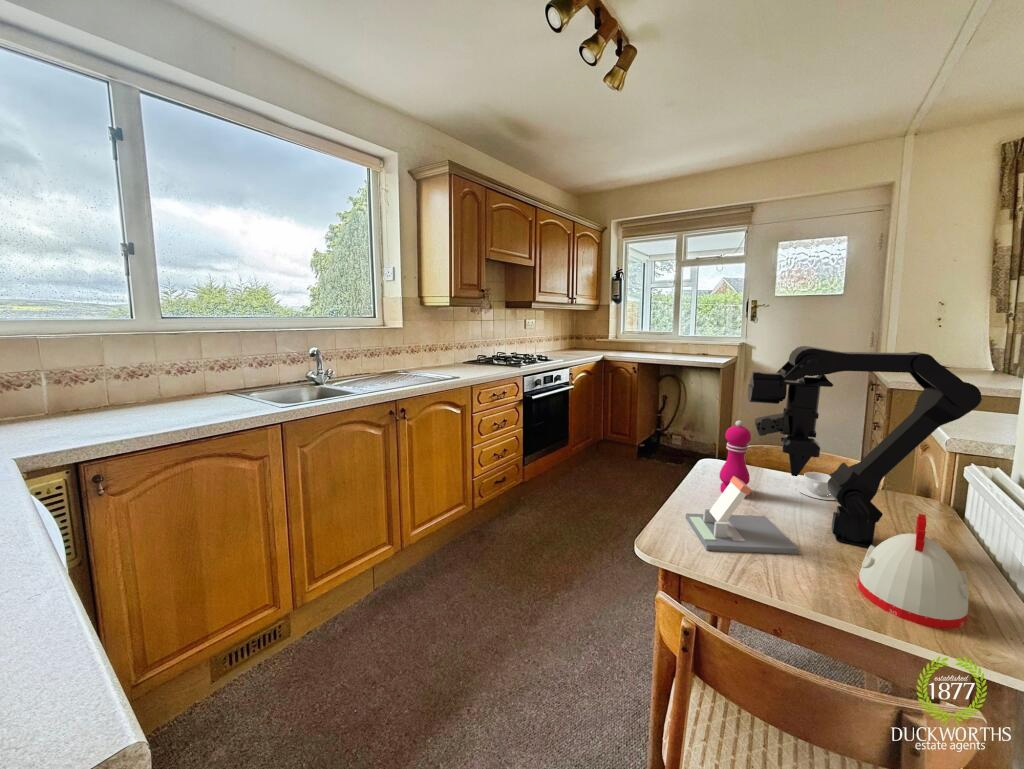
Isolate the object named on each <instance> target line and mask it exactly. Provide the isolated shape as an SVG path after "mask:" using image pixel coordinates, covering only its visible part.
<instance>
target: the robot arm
mask: <svg viewBox="0 0 1024 769" xmlns="http://www.w3.org/2000/svg"><path fill="white" fill-rule="evenodd" d="M841 372H863V373H864V372H865V373H866V372H867V373H869V372H871V373H872V372H873V373H876V372H877V373H909V374H910V376H911V377H912V378H913V380H914V381H915V382H916V383H917V384H918V385H919V386H920V387H921V388H922V389H923V390H922V391H921V393H920V395H918V397H917V401H916V403H915V405H914V409H913V411H911V413H910V414H909V415H908V416H906V418H905V419H904V420H902V422H901V423H899V425H897V426H896V427H895V428H894V429H893V430H892V431H891V432H889V434H887V436H886V437H885V438H883V440H882V441H880V442H879V443H878V444H877V445H876V446H875V447H874V448H873V449H872V450H871V451H870V452H869V453H867V455H866V456H865V457H864V458H863V459H862V460H860V461H859V462H858V463H854V464H852V465H850V466H848V464H846V463H845V462H842V463H841V464H840V465H838V467H837V469H836V470H835V471H834V472H831V473H830V474H828V475H829V476H830V477H831V478H830V479H829V480H828V483H827V484H828V490H829V491H830V493H831V494H832V495H833V497H834V498H835V499H836V500H835V501H836V503H838V504H839V505H837V507H836V511H834V512H833V514H832V520H831V528H830V529H831V532H832V534H833V535H834V539H835V540H836V541H837V542H840V543H843V544H850V545H854V546H858V547H859V546H860V547H864V548H868V549H869V547H870V546H871V545H872V546H874V547H875V548H876V546H875V543H874V536H875V529H876V523H878V522H879V521H880V520H881V518H882V517H883V514H884V513H883V512H882V511H881V510H880V509H878V507H877V506H876V505H875V504H874V503H873V502H872V500H874V498H875V497H876V495H877V494H878V490H879V489H880V488H879V487H880V485H881V484H882V480H883V479H884V478H885V477H886V476H887V475H888V474H889V473H891V471H892V470H893V469H894V468H896V467H897V466H898V465H899V464H900V463H901V462H903V460H904V459H906V458H907V457H908V456H909V455H910V454H911V453H912V452H913V451H914V450H915V449H917V447H919V446H920V445H921V444H922V443H923V442H924V441H925V440H926V439H927V438H928V437H930V436H931V435H932V434H933V433H934V432H935V431H936V430H937V429H938V428H939V427H941V426H944V425H947V424H949V423H952V422H955V421H957V420H959V419H961V418H963V417H964V416H966V415H967V414H969V413H970V412H973V410H975V409H976V408H977V407H979V406H980V404H981V403H982V400H983V398H982V392H981V391H980V388H978V386H976V385H975V384H973V383H970V382H967V381H963V380H962V379H961V378H960V377H959V376H958V375H956V374H954V373H953V372H951V371H950V370H949V369H948V368H946V367H945V366H943V365H942V364H940V363H939V361H937V359H935V358H934V357H933V356H932V355H930V354H929V353H923V352H917V351H910V352H872V351H871V352H865V351H864V352H863V351H862V352H859V351H857V352H856V351H851V352H850V351H838V350H831V349H827V348H823V347H822V348H820V347H815V346H808V345H803V346H802V345H801V346H798V347H795V349H793V350H792V351H791V353H790V354H789V357H788V360H787V362H785V364H784V365H782V367H781V368H779V369H778V371H776V372H762V371H752V372H751V377H750V379H749V383H748V385H747V400H748V403H755V404H770V405H771V404H773V405H779V404H780V402H783V401H785V400H786V404H785V407H783V411H782V413H776V414H775V413H774V414H770V415H764V416H760V417H756V418H755V419H754V425H755V428H756V431H757V434H758V436H759V437H760V436H761V437H764V436H767V435H769V434H774V433H780V434H782V435H785V437H781V438H780V441H781V447H782V448H781V449H782V450H781V451H782V453H784V454H788V458H789V466H790V468H789V469H790V474H791V476H792V477H798V476H799V474H800V473H801V472H802V471H803V469H804V468H805V466H806V465H807V463H809V461H810V459H811V458H820V454H821V453H820V452H821V446H820V444H819V442H818V441H817V440H816V439H815V438H817V431H816V429H817V428H816V427H817V420H818V419H819V415H820V414H819V412H818V410H819V405H820V404H819V403H820V397H821V396H820V395H821V387H824V388H825V387H826V388H827V387H828V388H832V387H834V383H833V382H832V381H830V380H829V379H828V378H827V376H826V375H831V374H837V373H841Z"/></svg>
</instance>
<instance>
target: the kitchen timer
mask: <svg viewBox="0 0 1024 769" xmlns="http://www.w3.org/2000/svg"><path fill="white" fill-rule="evenodd" d="M926 527H927V515H926V514H922V513H918V515H917V518H916V526H915V530H914V533H909V532H908V533H900V534H897V535H894V536H891V537H889V538H887V539H885V540H883V541H882V542H880V543H879V544H877V546H875V547H874V546H872V545H871V546H870V547H869V548H868V549H867V551H866V554H865V555H864V558H863V561H862V563H861V568H860V569H859V573H858V577H857V578H858V579H857V588H858V590H859V592H860V593H861V594H862V595H863V596H864V597H865V598H866V599H867V600H868V601H869V602H870V603H872V604H873V605H875V606H877V607H878V608H880V609H881V610H883V611H884V612H886V613H889V614H891V615H893V616H896V617H898V618H900V619H903V620H905V621H909V622H910V621H911V622H910V623H913V622H914V624H917V625H920V626H925V627H929V628H934V629H945V630H950V629H958V628H961V627H962V626H964V625H965V624H966V622H967V621H966V620H967V618H968V617H967V616H968V612H969V595H970V594H969V585H968V584H969V582H968V578H967V574H966V572H965V571H964V569H963V570H959V568H958V566H957V564H956V563H955V561H954V560H953V558H952V557H951V556H950V554H949V553H947V551H946V550H945V549H944V548H943V547H942V546H940V545H939V544H938V543H937V542H936V541H934V540H932V539H931V538H929V537H927V536H926V532H927V531H926V529H927V528H926Z"/></svg>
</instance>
